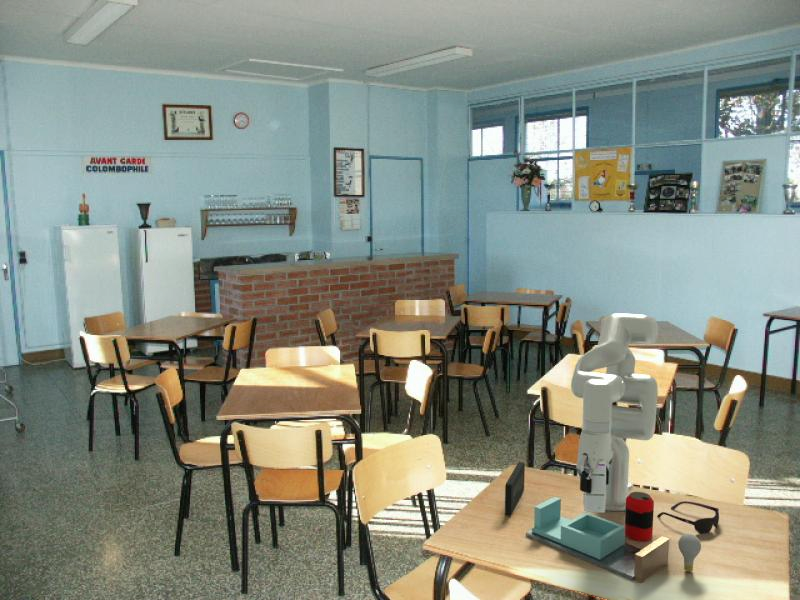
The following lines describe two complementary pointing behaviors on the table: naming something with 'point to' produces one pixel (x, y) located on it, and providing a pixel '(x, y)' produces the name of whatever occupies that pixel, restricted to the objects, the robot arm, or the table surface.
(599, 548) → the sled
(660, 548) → the rail
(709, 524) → the sunglasses
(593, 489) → the syrup box
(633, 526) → the soda can
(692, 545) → the light bulb
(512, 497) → the nameplate
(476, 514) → the table surface
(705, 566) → the table surface
